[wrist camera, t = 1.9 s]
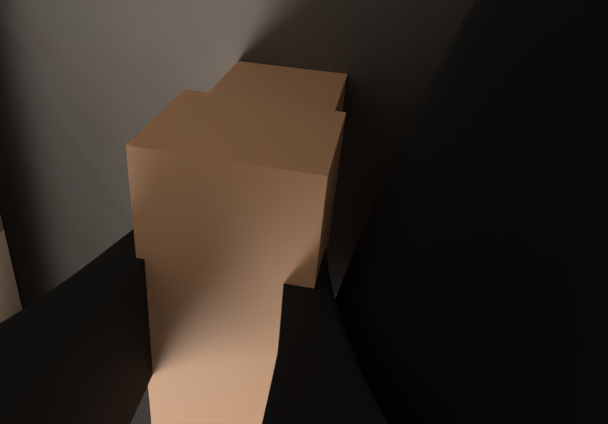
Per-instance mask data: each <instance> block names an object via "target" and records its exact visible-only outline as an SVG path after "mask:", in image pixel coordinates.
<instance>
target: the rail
mask: <svg viewBox="0 0 608 424" xmlns="http://www.w3.org/2000/svg"><path fill="white" fill-rule="evenodd" d="M21 310H22V306H21V302H20V297H19V293H18V289H17V284H16V280H15V276H14V271H13V267H12V263H11V258H10V254H9V250H8V245H7V241H6V237H5V232H4V228H3V223H2V219H1V215H0V323H1V322H3V321H4V320H6V319H8V318H9V317H11V316H13V315H14V314H16V313H18V312H19V311H21Z"/></svg>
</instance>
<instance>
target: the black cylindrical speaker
mask: <svg viewBox="0 0 608 424" xmlns="http://www.w3.org/2000/svg"><path fill="white" fill-rule="evenodd" d="M335 300H336V303H337V306H338V310H339V313H340V316H341V319H342V322H343V325H344V328H345V331H346V334H347V336H348V339H349V342H350V344H351V347H352V349H353V352H354V354H355V357H356V359H357V361H358V364H359V366H360V368H361V371H362V373H363V375H364V377H365V379H366V381H367V384H368V386H369V388H370V390H371V392H372V394H373V396H374V398H375V400H376V402H377V404H378V405H379V407H380V409H381V411H382V413H383V415H384V417H385V418H386V420H387V422H388V424H608V0H475V2H474V4H473V6H472V7H471V9H470V11H469V12H468V14H467V16H466V18H465V19H464V21H463V23H462V25H461V27H460V29H459V30H458V32H457V34H456V36H455V38H454V40H453V41H452V43H451V45H450V47H449V49H448V51H447V53H446V55H445V56H444V58H443V60H442V62H441V64H440V66H439V68H438V70H437V72H436V74H435V76H434V78H433V80H432V82H431V84H430V86H429V88H428V90H427V92H426V94H425V96H424V98H423V100H422V102H421V104H420V106H419V108H418V110H417V112H416V114H415V116H414V118H413V120H412V122H411V124H410V126H409V128H408V130H407V132H406V134H405V136H404V139H403V141H402V143H401V145H400V147H399V149H398V151H397V154H396V156H395V158H394V160H393V162H392V165H391V167H390V169H389V171H388V173H387V176H386V178H385V180H384V182H383V185H382V187H381V189H380V191H379V194H378V196H377V198H376V201H375V203H374V205H373V207H372V210H371V212H370V214H369V217H368V219H367V221H366V224H365V226H364V228H363V231H362V233H361V236H360V238H359V240H358V243H357V245H356V248H355V250H354V252H353V255H352V257H351V260H350V262H349V265H348V267H347V270H346V272H345V275H344V278H343V280H342V283H341V285H340V288H339V291H338V293H337V296H336V299H335Z"/></svg>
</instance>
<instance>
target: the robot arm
mask: <svg viewBox="0 0 608 424" xmlns="http://www.w3.org/2000/svg"><path fill="white" fill-rule="evenodd" d="M152 375H153V371H152V357H151V343H150V329H149V315H148V301H147V287H146V272H145V259H141V258H136V250H135V239H134V229H133V230H132V231H130V232H129V233H128V234H126V235H125V236H124V237H123V238H121V239H120V240H119V241H117V242H116V243H115V244H114V245H112V246H111V247H110V248H108V249H107V250H106V251H105V252H103V253H102V254H101V255H99V256H98V257H97V258H95V259H94V260H93V261H91V262H90V263H89V264H87V265H86V266H85V267H83V268H82V269H81V270H79V271H78V272H77V273H75V274H74V275H73V276H71V277H70V278H69V279H67V280H66V281H64V282H63V283H61V284H60V285H58V286H57V287H55V288H54V289H52V290H51V291H50V292H48V293H47V294H45V295H44V296H42V297H41V298H39V299H38V300H36V301H35V302H33V303H32V304H30V305H29V306H27V307H26V308H24V309H23V310H21V311H19V312H18V313H16V314H14V315H13V316H11V317H9V318H8V319H6V320H4V321H3V322H1V323H0V424H130V423H131V421H132V418H133V416H134V414H135V412H136V410H137V408H138V406H139V403H140V401H141V399H142V397H143V395H144V393H145V390H146V388H147V386H148V384H149V382H150V380H151V378H152ZM262 424H388V422H387V420H386V418H385V417H384V415H383V413H382V411H381V409H380V407H379V405H378V404H377V402H376V400H375V398H374V396H373V394H372V392H371V390H370V388H369V386H368V384H367V381H366V379H365V377H364V375H363V373H362V371H361V368H360V366H359V364H358V361H357V359H356V357H355V354H354V352H353V349H352V347H351V344H350V342H349V339H348V336H347V334H346V331H345V328H344V325H343V322H342V319H341V316H340V313H339V310H338V306H337V303H336V300H335V296H334V293H333V289H332V284H331V280H330V275H329V270H328V263H327V247H326V250H325V252H324V255H323V258H322V261H321V265H320V269H319V273H318V276H317V280H316V284H315V288H308V287H302V286H297V285H291V284H285V283H283V295H282V307H281V318H280V330H279V342H278V353H277V358H276V362H275V367H274V372H273V376H272V381H271V385H270V390H269V395H268V399H267V404H266V408H265V412H264V417H263V421H262Z"/></svg>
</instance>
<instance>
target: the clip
mask: <svg viewBox="0 0 608 424" xmlns="http://www.w3.org/2000/svg"><path fill="white" fill-rule="evenodd" d="M346 79H347V74H343V73H335V72H326V71H318V70H309V69H301V68H293V67H284V66H276V65H267V64H259V63H251V62H242V61H238V62H237V63H236V64H235V65H234V66H233V67H232V68H231V69H230V70H229V72H228V73H227V74H226V75H225V76H224V77H223V78H222V79H221V80H220V81H219V82H218V83H217V84H216V85H215V87H214V88H213V89H212V90H211V91H210V92H209V93H206V92H199V91H191V90H184V91H183V92H182V93H180V94H179V95H178V96H177V97H176V98H175V99H174V100H173V101H172V102H171V103H170V104H169V105H168V106H167V107H166V108H165V109H164V110H163V111H161V112H160V113H159V114H158V115H157V116H156V117H155V118H154V119H153V120H152V121H151V122H150V123H149V124H148V125H147V126H146V127H145V128H144V129H142V130H141V131H140V132H139V133H138V134H137V135H136V136H135V137H134V138H133V139H132V140H131V141H130V142H129V143H128V144H127V145H126V153H127V164H128V174H129V185H130V196H131V207H132V217H133V228H134V239H135V250H136V258H141V259H145V272H146V287H147V301H148V315H149V329H150V343H151V357H152V371H153V375H152V378H151V380H150V382H149V384H148V390H149V401H150V411H151V422H152V424H262V421H263V417H264V412H265V408H266V404H267V399H268V395H269V390H270V385H271V381H272V376H273V372H274V367H275V362H276V358H277V353H278V342H279V330H280V318H281V307H282V295H283V283H285V284H291V285H297V286H302V287H308V288H315V284H316V280H317V276H318V273H319V269H320V265H321V261H322V258H323V255H324V252H325V250H326V247H327V254H328V246H329V239H330V231H331V223H332V216H333V208H334V200H335V193H336V185H337V177H338V170H339V162H340V154H341V147H342V139H343V131H344V124H345V116H346V112H342V111H343V103H344V95H345V87H346Z"/></svg>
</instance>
